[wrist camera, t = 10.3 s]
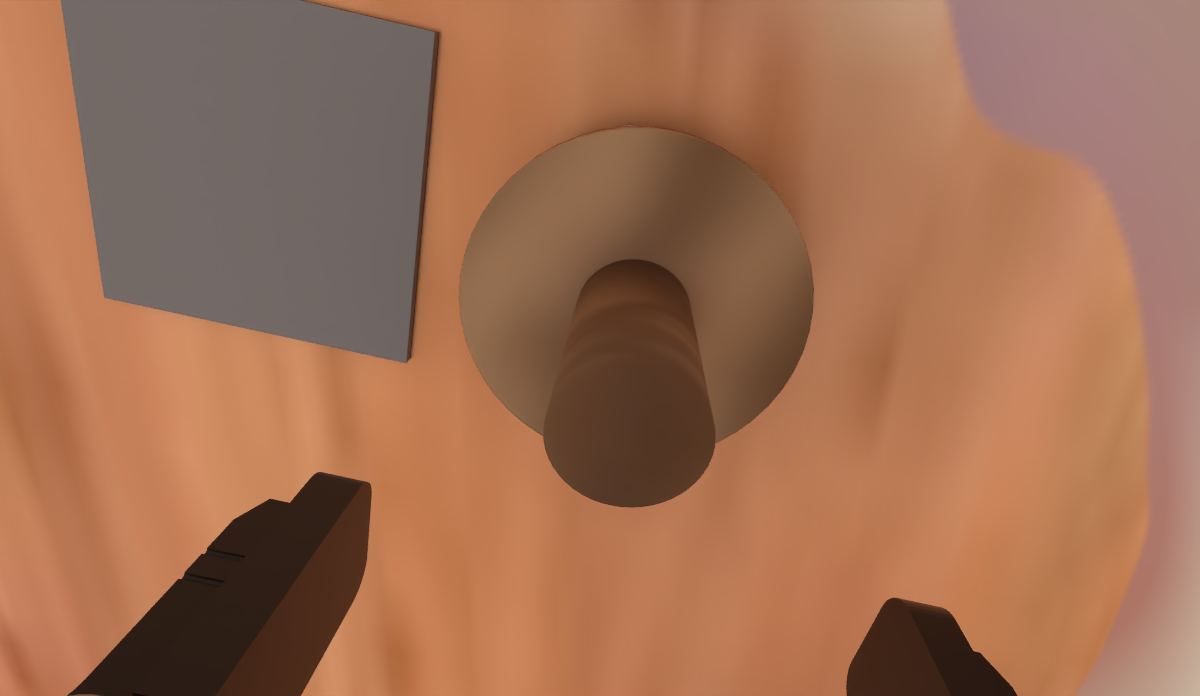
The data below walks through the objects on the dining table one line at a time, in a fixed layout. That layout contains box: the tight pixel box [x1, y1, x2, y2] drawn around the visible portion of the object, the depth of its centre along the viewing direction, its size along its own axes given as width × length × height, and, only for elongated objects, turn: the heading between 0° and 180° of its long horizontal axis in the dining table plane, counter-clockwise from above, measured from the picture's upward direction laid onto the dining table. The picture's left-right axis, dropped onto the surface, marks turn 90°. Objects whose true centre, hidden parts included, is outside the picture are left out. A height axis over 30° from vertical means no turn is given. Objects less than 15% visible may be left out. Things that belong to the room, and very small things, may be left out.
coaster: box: [61, 0, 439, 363], centre depth 24 cm, size 13×13×1 cm
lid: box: [459, 127, 814, 507], centre depth 16 cm, size 11×11×8 cm
